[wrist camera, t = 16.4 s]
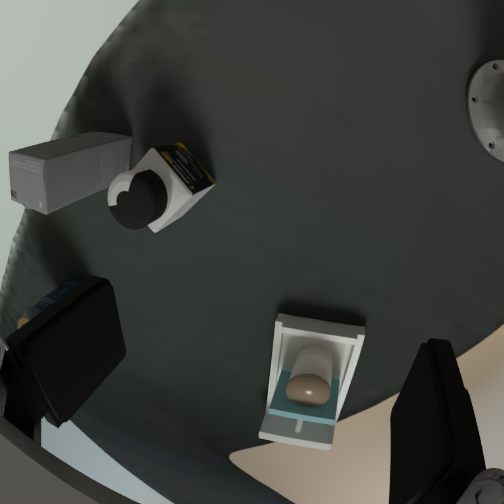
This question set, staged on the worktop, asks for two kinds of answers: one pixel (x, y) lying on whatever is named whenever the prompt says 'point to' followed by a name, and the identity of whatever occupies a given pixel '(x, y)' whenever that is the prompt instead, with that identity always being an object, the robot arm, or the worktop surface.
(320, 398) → the jar
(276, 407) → the pusher
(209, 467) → the worktop surface
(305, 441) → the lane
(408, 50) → the worktop surface
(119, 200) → the medicine bottle
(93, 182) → the skincare box
